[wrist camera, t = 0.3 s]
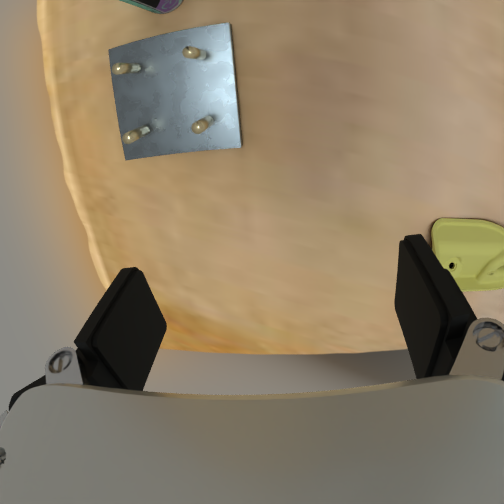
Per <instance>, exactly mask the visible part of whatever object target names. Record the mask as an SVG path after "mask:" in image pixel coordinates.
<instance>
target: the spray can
mask: <svg viewBox="0 0 504 504" xmlns="http://www.w3.org/2000/svg"><path fill="white" fill-rule="evenodd" d="M120 1H123V2H126V3H129V4H132V5H135V6H137V7H140V8H143V9H146V10H148V11H151V12H154V13H158V14H165V13H169V12H171V11H173V10H175V9H176V8H177V7H179V5H180V4H181V3H182V1H183V0H120Z"/></svg>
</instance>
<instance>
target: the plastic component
mask: <svg viewBox="0 0 504 504" xmlns="http://www.w3.org/2000/svg"><path fill="white" fill-rule="evenodd" d="M431 237H432V251H433V252H434V254H435V255H436V257H437V259H438V260H439V262H440V263H441V265H442V266H443V268H444V269H448V271H449V272H450V273H451V275H452V276H453V278H454V280H455V281H456V283H457V285H458V286H459V288H460V289H461V291H462V292H464V291H487V290H497V289H502V288H504V228H503V227H501V226H499V225H497V224H495V223H492V222H489V221H484V220H476V219H453V218H441V219H439V220H437V221H436V222H435V223H434V225H433V227H432V231H431ZM452 262H453V263H454V265H453V267H452V268H449V264H450V263H452Z"/></svg>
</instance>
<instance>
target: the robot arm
mask: <svg viewBox="0 0 504 504" xmlns="http://www.w3.org/2000/svg"><path fill="white" fill-rule="evenodd" d="M395 310H396V314H397V317H398V319H399V322H400V325H401V328H402V331H403V335H404V338H405V341H406V344H407V347H408V350H409V354H410V357H411V360H412V363H413V367H414V371H415V374H416V378H417V379H414V380H407V381H401V382H394V383H388V384H381V385H373V386H366V387H358V388H349V389H340V390H330V391H319V392H307V393H292V394H268V395H198V394H197V395H196V394H175V393H160V392H159V393H158V392H147V391H143V388H144V386H145V383H146V380H147V377H148V375H149V372H150V370H151V367H152V365H153V362H154V360H155V357H156V354H157V352H158V349H159V347H160V344H161V342H162V339H163V337H164V334H165V332H166V328H167V325H166V321H165V319H164V317H163V315H162V313H161V311H160V309H159V306H158V304H157V302H156V300H155V298H154V296H153V294H152V292H151V289H150V287H149V285H148V283H147V281H146V278H145V276H144V274H143V272H142V271H140V270H139V269H138V268H136V267H131V268H123V269H122V270H121V271H120V272H119V273H118V275H117V276H116V278H115V279H114V281H113V282H112V284H111V285H110V286H109V288H108V289H107V291H106V292H105V294H104V295H103V297H102V298H101V300H100V301H99V303H98V305H97V306H96V307H95V309H94V310H93V312H92V314H91V315H90V317H89V318H88V320H87V321H86V323H85V324H84V326H83V328H82V329H81V331H80V332H79V334H78V336H77V337H76V339H75V340H74V343H75V344H76V346H77V347H78V348H77V350H76V351H75V350H74V349H73V348H71V347H64V348H61V349H59V350H57V351H56V352H54V353H53V354H52V355H51V356H50V358H49V359H48V361H47V363H46V365H45V375H44V376H43V377H41V378H40V379H38V380H36V381H34V382H33V383H31V384H29V385H28V386H26V387H25V388H23V389H21V390H19V391H18V392H16V393H15V394H14V395H13V396H12V398H11V401H10V404H9V412H8V411H7V410H6V411H5V412H4V413H3V414H2V415H1V416H0V504H504V324H502V323H501V322H500V321H498V320H496V319H492V318H480V319H477V318H476V316H475V314H474V312H473V310H472V308H471V307H470V305H469V303H468V301H467V300H466V298H465V296H464V295H463V293H462V291H461V289H460V288H459V286H458V285H457V283H456V281H455V280H454V278H453V276H452V275H451V273H450V272H449V271H448V269H444V268H443V266H442V265H441V263H440V262H439V260H438V259H437V257H436V255H435V254H434V252H433V251H432V249H431V248H430V246H429V245H428V243H427V242H426V240H425V239H424V237H423V236H422V235H421V234H416V235H408V236H405V238H404V240H402V241H400V243H399V258H398V271H397V283H396V293H395Z"/></svg>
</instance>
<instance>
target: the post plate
mask: <svg viewBox="0 0 504 504" xmlns="http://www.w3.org/2000/svg"><path fill="white" fill-rule="evenodd" d="M109 59H110V68H111V76H112V84H113V91H114V98H115V104H116V110H117V117H118V123H119V128H120V134H121V139H122V145H123V150H124V155H125V160H131V159H138V158H144V157H152V156H159V155H167V154H175V153H184V152H193V151H204V150H215V149H227V148H241V147H242V145H243V144H242V133H241V123H240V112H239V102H238V91H237V81H236V70H235V60H234V50H233V39H232V29H231V24H230V23H222V24H215V25H209V26H202V27H197V28H191V29H186V30H181V31H176V32H171V33H167V34H162V35H158V36H154V37H150V38H146V39H142V40H139V41H135V42H132V43H128V44H125V45H122V46H118V47H115V48H112V49H109Z"/></svg>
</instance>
